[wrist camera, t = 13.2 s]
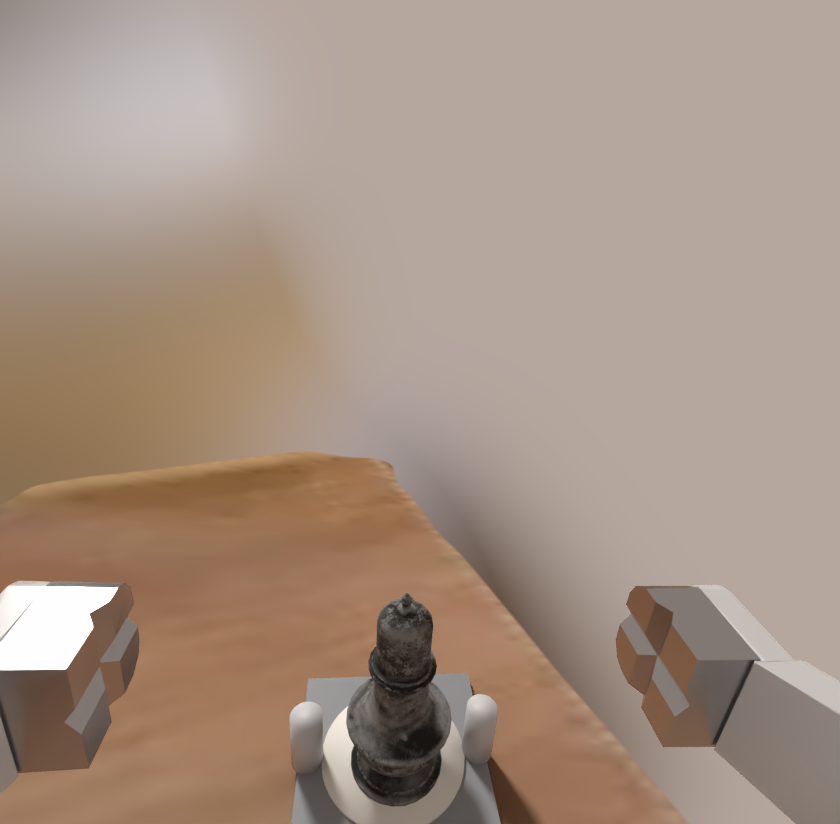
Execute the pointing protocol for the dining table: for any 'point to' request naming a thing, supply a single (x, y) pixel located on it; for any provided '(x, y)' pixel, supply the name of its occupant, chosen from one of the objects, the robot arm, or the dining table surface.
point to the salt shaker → (399, 710)
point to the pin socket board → (332, 774)
